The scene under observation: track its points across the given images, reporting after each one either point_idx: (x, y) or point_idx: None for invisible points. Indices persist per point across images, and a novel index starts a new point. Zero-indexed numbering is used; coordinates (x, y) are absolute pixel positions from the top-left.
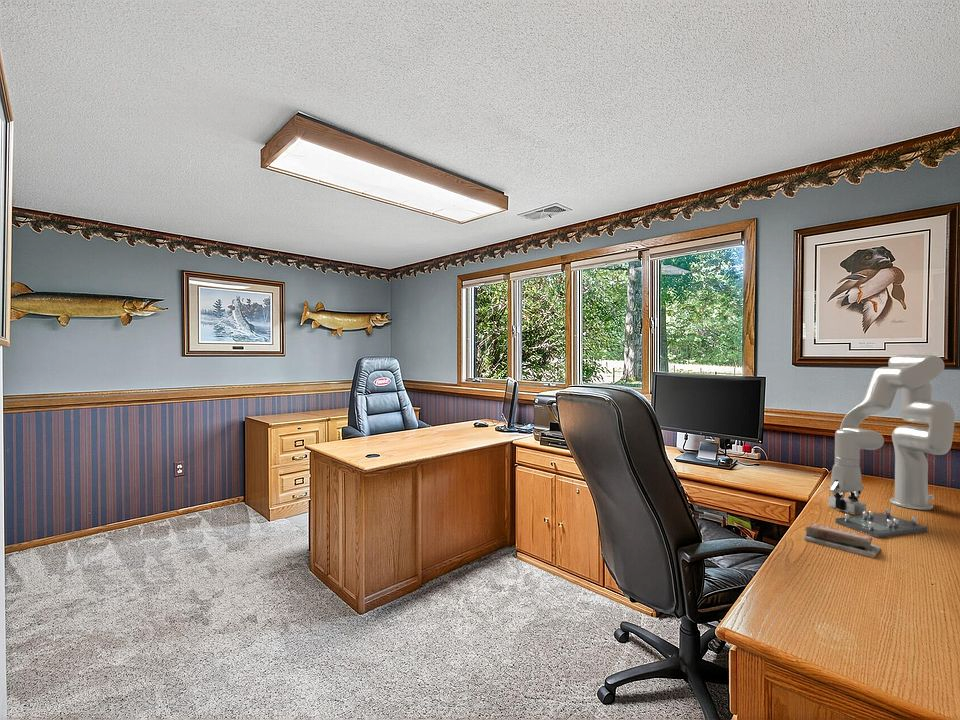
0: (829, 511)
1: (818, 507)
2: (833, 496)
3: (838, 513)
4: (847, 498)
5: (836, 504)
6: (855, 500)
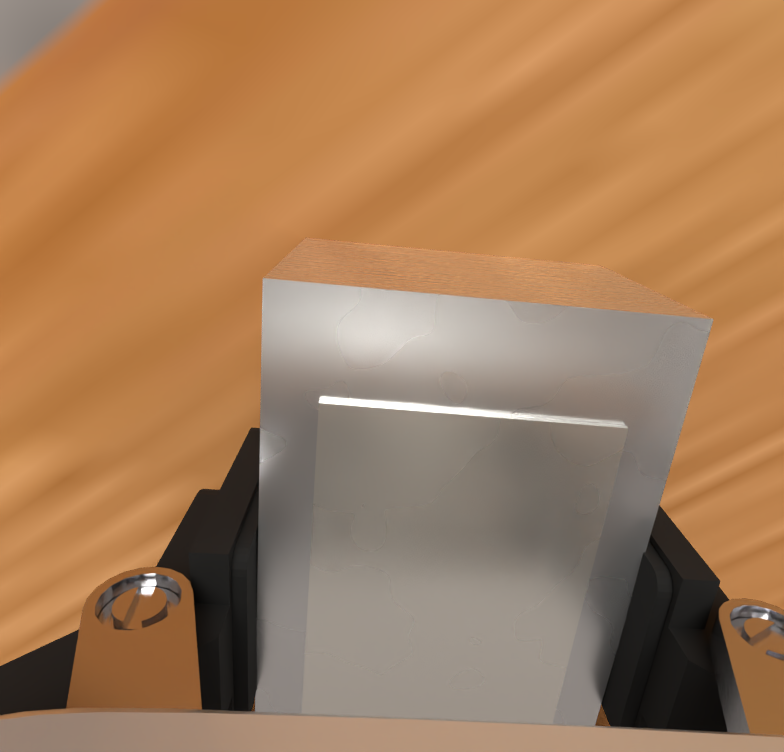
0: (54, 439)
1: (34, 208)
2: (429, 317)
3: (121, 546)
4: (577, 574)
5: (191, 509)
6: (601, 695)
